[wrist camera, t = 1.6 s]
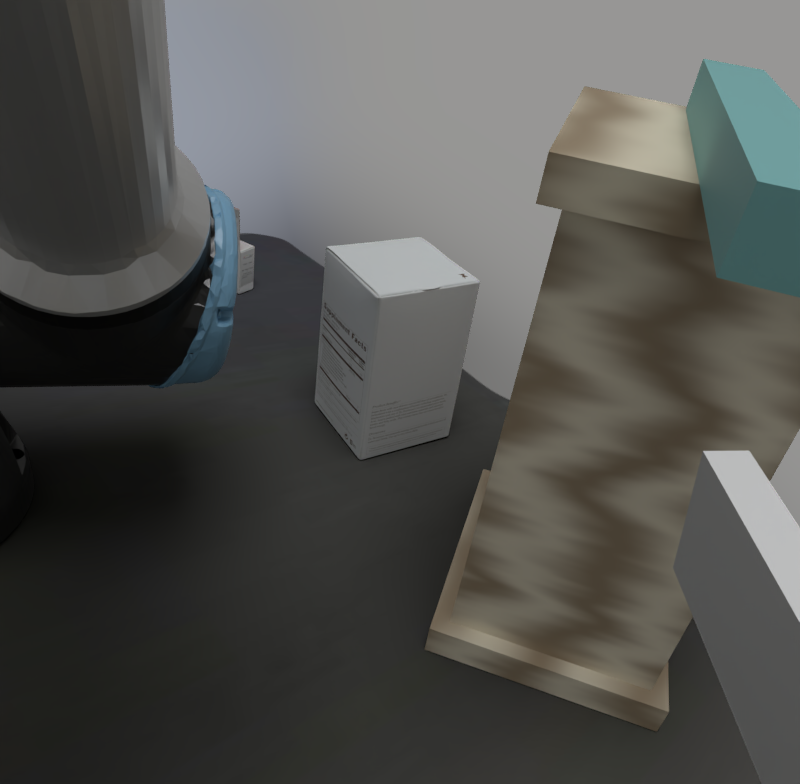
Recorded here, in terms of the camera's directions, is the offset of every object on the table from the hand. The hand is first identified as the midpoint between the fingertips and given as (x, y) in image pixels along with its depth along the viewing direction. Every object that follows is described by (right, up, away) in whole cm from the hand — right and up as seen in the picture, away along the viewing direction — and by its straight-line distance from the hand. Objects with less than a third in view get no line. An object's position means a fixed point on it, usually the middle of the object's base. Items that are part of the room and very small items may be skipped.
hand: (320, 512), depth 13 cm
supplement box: (0, 0, +49) cm, 49 cm away
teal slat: (+14, +11, +15) cm, 23 cm away
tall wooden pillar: (+12, -11, +36) cm, 39 cm away
